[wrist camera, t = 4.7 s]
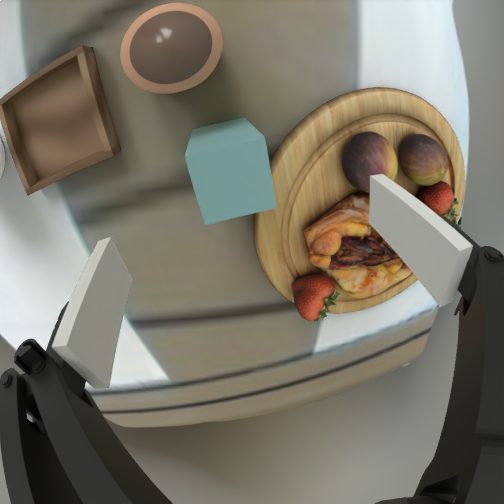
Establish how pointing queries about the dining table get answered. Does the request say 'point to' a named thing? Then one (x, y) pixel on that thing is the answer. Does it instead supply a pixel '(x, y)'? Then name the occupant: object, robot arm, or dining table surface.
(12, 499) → the robot arm
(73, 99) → the walnut box
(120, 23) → the dining table surface
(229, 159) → the teal block
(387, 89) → the wooden plate with food
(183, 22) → the terracotta pot
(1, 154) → the mug
